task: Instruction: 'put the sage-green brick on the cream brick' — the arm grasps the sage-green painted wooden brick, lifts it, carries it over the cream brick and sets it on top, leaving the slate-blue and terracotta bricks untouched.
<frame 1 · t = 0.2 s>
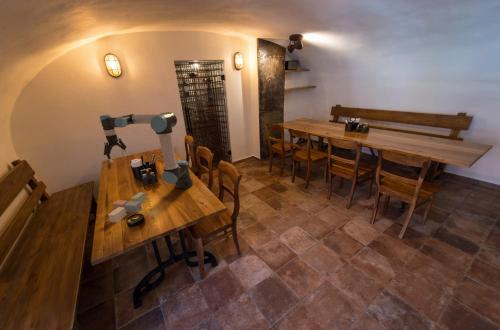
hand: (118, 159, 172), 27 cm above the table, fingers open, 13 cm apart
green brick: (140, 201, 161), on the table
slate brick: (134, 210, 150), on the table
cream brick: (119, 218, 142), on the table
terracotta brick: (122, 209, 152), on the table
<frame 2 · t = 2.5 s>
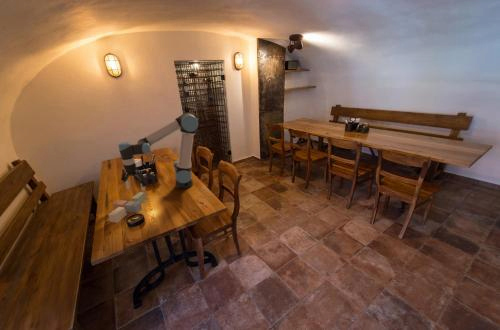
hand: (136, 189, 157), 11 cm above the table, fingers open, 13 cm apart
nothing on the table moved.
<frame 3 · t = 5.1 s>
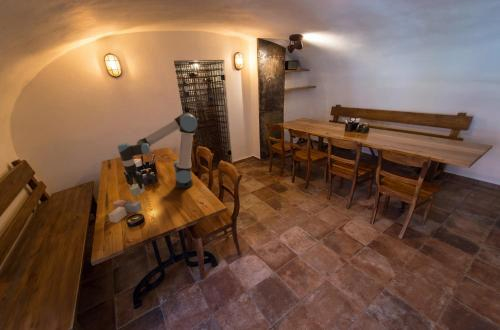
hand: (138, 192, 158), 8 cm above the table, fingers closed on green brick, 5 cm apart
green brick: (138, 192, 158), point 8 cm above the table, touching gripper
everything else where it was.
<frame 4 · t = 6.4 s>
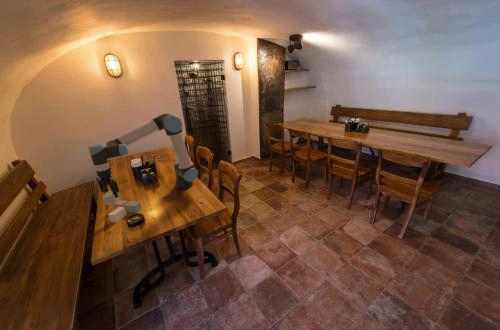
hand: (113, 201, 137), 13 cm above the table, fingers closed on green brick, 5 cm apart
green brick: (113, 201, 137), point 13 cm above the table, touching gripper
everything else where it was.
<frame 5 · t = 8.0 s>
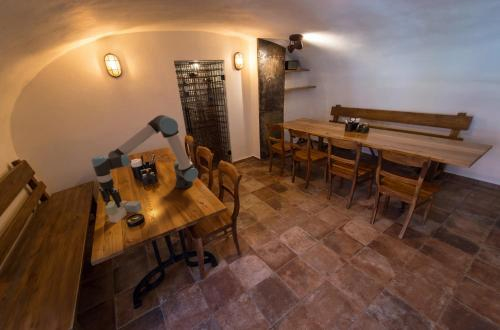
hand: (115, 210, 139), 6 cm above the table, fingers closed on green brick, 5 cm apart
green brick: (115, 211, 139), point 6 cm above the table, touching cream brick, gripper
cream brick: (118, 218, 142), on the table, touching green brick, gripper
everything else where it was.
when the fingers open (6 cm above the table, at t = 8.0 s): green brick stays where it is, resting on cream brick.
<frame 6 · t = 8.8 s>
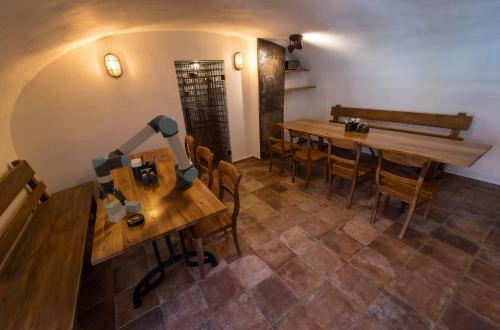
hand: (115, 208, 139), 8 cm above the table, fingers open, 13 cm apart
green brick: (115, 211, 139), point 6 cm above the table, touching cream brick
cream brick: (118, 218, 142), on the table, touching green brick
everything else where it was.
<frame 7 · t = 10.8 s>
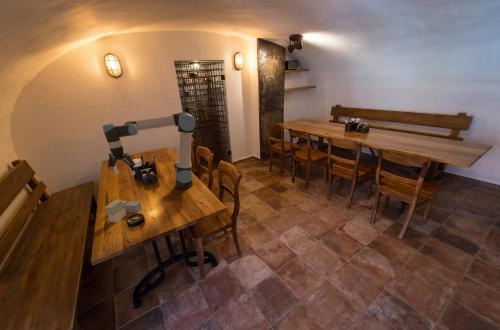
hand: (125, 174, 148), 25 cm above the table, fingers open, 13 cm apart
nothing on the table moved.
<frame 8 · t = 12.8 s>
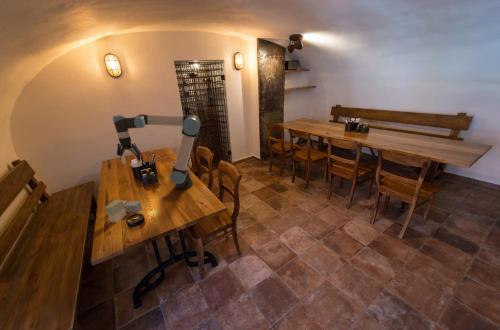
hand: (131, 164, 157), 29 cm above the table, fingers open, 13 cm apart
nothing on the table moved.
at the end: green brick inside the target area on the cream brick (0.2 cm from its centre), point 6.0 cm above the cream brick's base; slate brick moved 0.2 cm from its start; terracotta brick moved 0.2 cm from its start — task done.
